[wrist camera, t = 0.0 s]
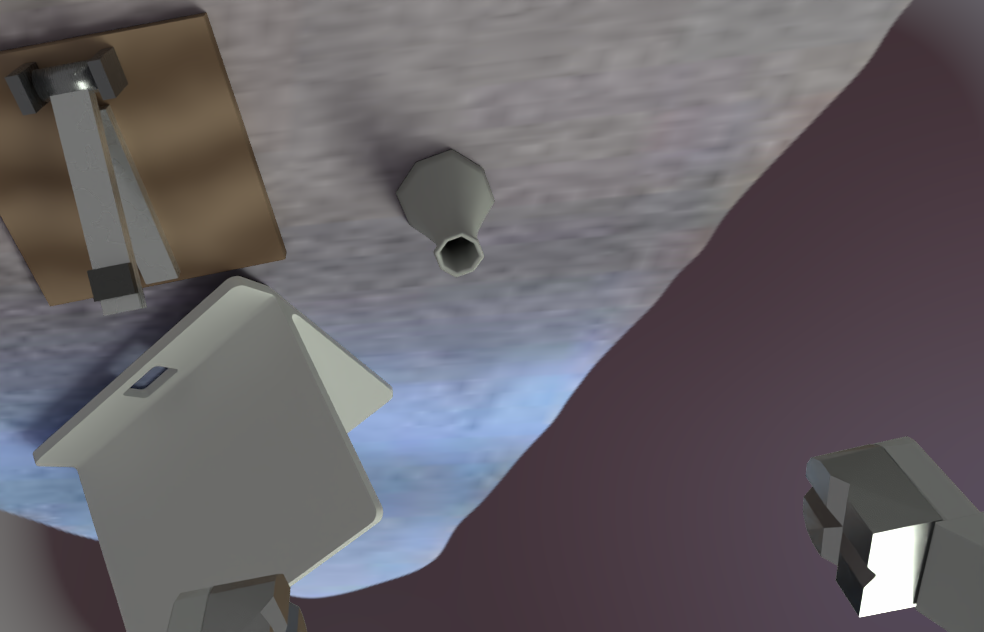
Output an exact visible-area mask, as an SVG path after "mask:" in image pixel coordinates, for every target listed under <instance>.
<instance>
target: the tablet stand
mask: <svg viewBox="0 0 984 632" xmlns="http://www.w3.org/2000/svg"><path fill="white" fill-rule="evenodd" d="M155 366H162V367H168V369H167V370H166V371H165V372H164V373H162V374H161V375H160V376H159V377H158V378H157V379H156V380H154V381H153V382H152V383H151V384H150V385H149V386H148V387H146V388H145V389H134V388H130V387H131V386H132V385H133V384H135V383H136V382H137V381H138V380H139V379H140V378H141V377H143V376H144V375H145V374H146V373H147V372H148V371H149V370H150V369H152V368H153V367H155ZM392 397H393V389H392V387H391V386H390V385H389V384H388V383H387V382H386V381H384V380H383V379H382V378H381V377H379V376H378V375H377V374H376V373H374V372H373V371H372V370H371V369H370V368H368V367H367V366H366V365H365V364H363V363H362V362H361V361H360V360H358V359H357V358H356V357H355V356H354V355H352V354H351V353H350V352H349V351H347V350H346V349H345V348H344V347H342V346H341V345H340V344H339V343H338V342H336V341H335V340H334V339H333V338H331V337H330V336H329V335H328V334H326V333H325V332H324V331H323V330H322V329H320V328H319V327H318V326H317V325H315V324H314V323H313V322H312V321H310V320H309V319H308V318H307V317H306V316H304V315H303V314H302V313H301V312H299V311H298V310H297V309H296V308H294V307H293V306H292V305H291V304H290V303H288V302H287V301H286V300H285V299H283V298H282V297H281V296H280V295H278V294H277V293H276V292H275V291H274V290H272V289H271V288H270V287H269V286H266V285H263V284H260V283H258V282H255V281H252V280H249V279H246V278H244V277H241V276H234V277H230V278H228V279H227V280H226V281H224V282H223V283H222V284H221V285H220V286H219V287H218V288H217V289H215V290H214V291H213V292H212V293H211V294H210V295H209V296H208V297H206V298H205V299H204V300H203V301H202V302H201V303H200V304H199V305H197V306H196V307H195V308H194V309H193V310H192V311H191V312H190V313H189V314H187V315H186V316H185V317H184V318H183V319H182V320H181V321H180V322H178V323H177V324H176V325H175V326H174V327H173V328H172V329H171V330H169V331H168V332H167V333H166V334H165V335H164V336H163V337H162V338H160V339H159V340H158V341H157V342H156V343H155V344H154V345H153V346H152V347H150V348H149V349H148V350H147V351H146V352H145V353H144V354H143V355H141V356H140V357H139V358H138V359H137V360H136V361H135V362H134V363H132V364H131V365H130V366H129V367H128V368H127V369H126V370H125V371H124V372H122V373H121V374H120V375H119V376H118V377H117V378H116V379H115V380H113V381H112V382H111V383H110V384H109V385H108V386H107V387H106V388H104V389H103V390H102V391H101V392H100V393H99V394H98V395H97V396H95V397H94V398H93V399H92V400H91V401H90V402H89V403H88V404H87V405H85V406H84V407H83V408H82V409H81V410H80V411H79V412H78V413H76V414H75V415H74V416H73V417H72V418H71V419H70V420H69V421H67V422H66V423H65V424H64V425H63V426H62V427H61V428H60V429H58V430H57V431H56V432H55V433H54V434H53V435H52V436H51V437H50V438H48V439H47V440H46V441H45V442H44V443H43V444H42V445H41V446H39V447H38V448H37V449H36V450H35V451H34V452H33V456H34V460H35V463H36V465H37V466H50V467H74V468H76V469H77V471H78V474H79V477H80V481H81V484H82V487H83V490H84V494H85V497H86V500H87V503H88V507H89V510H90V513H91V517H92V520H93V523H94V526H95V530H96V533H97V536H98V539H99V543H100V546H101V549H102V552H103V556H104V559H105V562H106V566H107V569H108V572H109V575H110V578H111V582H112V585H113V588H114V592H115V595H116V598H117V602H118V605H119V608H120V611H121V615H122V618H123V621H124V625H125V627H126V631H127V632H167V628H168V624H169V620H170V615H171V611H172V607H173V604H174V602H175V600H176V599H177V597H178V596H179V594H180V593H183V592H188V591H193V590H198V589H203V588H208V587H213V586H216V585H222V584H227V583H232V582H237V581H243V580H248V579H253V578H258V577H264V576H269V575H274V574H284V576H285V578H286V580H287V582H288V584H289V586H290V587H291V586H292V585H293V584H295V583H296V582H297V581H299V580H300V579H301V578H303V577H304V576H306V575H307V574H308V573H310V572H311V571H312V570H314V569H315V568H317V567H318V566H319V565H321V564H322V563H323V562H325V561H326V560H328V559H329V558H330V557H332V556H333V555H334V554H336V553H337V552H339V551H340V550H341V549H343V548H344V547H345V546H347V545H348V544H350V543H351V542H352V541H354V540H355V539H356V538H358V537H359V536H360V535H362V534H363V533H365V532H366V531H367V530H369V529H370V528H371V527H373V526H374V525H376V524H377V523H378V522H379V521H380V520H381V518H382V516H383V508H382V506H381V504H380V502H379V499H378V497H377V495H376V493H375V491H374V489H373V487H372V485H371V483H370V481H369V479H368V476H367V474H366V472H365V470H364V468H363V466H362V464H361V462H360V460H359V458H358V456H357V453H356V451H355V449H354V447H353V445H352V443H351V441H350V439H349V437H348V435H347V433H348V432H350V431H351V430H352V429H353V428H355V427H356V426H357V425H359V424H360V423H361V422H362V421H364V420H365V419H366V418H368V417H369V416H370V415H371V414H373V413H374V412H375V411H377V410H378V409H379V408H380V407H382V406H383V405H384V404H386V403H387V402H388V401H389V400H391V398H392Z"/></svg>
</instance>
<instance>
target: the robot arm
mask: <svg viewBox="0 0 984 632" xmlns="http://www.w3.org/2000/svg"><path fill="white" fill-rule="evenodd" d="M806 477H807V479H808V480H809V482H810V483H811V485H812V488H811V489H810V490H809V491H808V492H807V494H806V495H805V496H804V502H803V515H804V519H805V524H806V528H807V531H808V534H809V536H810V538H811V540H812V543H813V544H814V546H815V548H816V549H817V551H818V553H819V554H820V556H821V557H823V558H825V559H826V560H828V561H830V562H832V563H833V564H835V565H837V566H838V567H837V575H836V581H837V583H838V585H839V586H840V588H841V589H842V591H843V592H844V594H845V596H846V597H847V599H848V600H849V602H850V603H851V605H852V607H853V608H854V610H855V611H856V613H857V614H858V616H859V617H863V616H867V615H873V614H878V613H883V612H888V611H893V610H898V609H903V608H909V607H914V606H916V608H915V609H916V610H917V611H919V612H920V613H922V614H923V615H924V616H926V617H928V618H929V619H931V620H932V621H933V622H935V623H936V624H938V625H939V626H941V627H942V628H944V629H945V630H947V631H948V632H984V512H980V511H979V510H978V509H977V508H976V507H975V506H974V505H973V504H972V503H971V502H970V501H969V500H968V498H967V497H966V496H965V495H964V494H963V493H962V492H961V491H960V490H959V489H958V487H957V486H956V485H955V484H954V483H953V482H952V481H951V480H950V479H949V478H948V476H947V475H945V473H944V472H943V471H942V470H941V469H940V468H939V467H938V465H937V464H936V463H935V462H934V461H933V460H932V459H931V458H930V457H929V456H928V455H927V454H926V452H925V451H924V450H923V449H922V448H921V447H920V446H919V445H918V444H917V443H916V441H915V440H913V439H911V438H909V437H907V436H906V437H902V438H897V439H893V440H888V441H884V442H879V443H875V444H869V445H864V446H860V447H855V448H851V449H847V450H842V451H838V452H834V453H829V454H825V455H821V456H816V457H812V458H811V459H810V461H809V462H808V463H807V470H806ZM289 599H290V586H289V584H288V582H287V580H286V578H285V576H284V574H274V575H269V576H264V577H258V578H253V579H248V580H243V581H237V582H232V583H227V584H222V585H216V586H213V587H208V588H203V589H198V590H193V591H188V592H183V593H180V594H179V596H178V597H177V599H176V600H175V602H174V604H173V607H172V611H171V615H170V620H169V624H168V628H167V632H307V629H306V625H305V621H304V617H303V615H302V613H301V610H300V608H299V607H298V606H296V605H294V604H292V603H290V602H289Z"/></svg>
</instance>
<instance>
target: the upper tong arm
mask: <svg viewBox="0 0 984 632" xmlns="http://www.w3.org/2000/svg"><path fill="white" fill-rule="evenodd" d="M88 60H89V59H88ZM88 60H83V61H78V62H73V63H67V64H62V65H57V66H51V67H46V68H41V69H36V70H33V72H32V82H33V86H34V88H35V91H36V93H37V94H38V96H39V97H40V98H41V99H42V100H43V101H44V102H49V101H51V103H52V107H53V111H54V115H55V119H56V124H57V128H58V132H59V136H60V140H61V144H62V148H63V152H64V156H65V160H66V164H67V168H68V172H69V176H70V180H71V184H72V188H73V192H74V197H75V201H76V205H77V209H78V213H79V217H80V221H81V225H82V229H83V233H84V237H85V241H86V245H87V249H88V253H89V257H90V261H91V265H92V270H88V271H87V274H88V278H89V282H90V286H91V290H92V294H93V298H94V302H96V301H100V302H101V306H102V310H103V314H104V316H107V315H112V314H117V313H122V312H127V311H132V310H137V309H142V308H147V305H146V301H145V297H144V293H143V289H142V285H141V281H140V276H139V272H138V268H137V264H136V260H135V256H134V252H133V247H132V243H131V239H130V235H129V231H128V227H127V223H126V218H125V214H124V210H123V206H122V202H121V198H120V194H119V189H118V185H117V181H116V177H115V173H114V169H113V165H112V160H111V156H110V152H109V148H108V144H107V140H106V135H105V131H104V127H103V123H102V119H101V115H100V111H99V106H98V102H97V98H96V94H95V93H96V92H99V89H98V87H97V85H96V82H95V80H94V78H93V76H92V73H91V71H90V69H89V66H88V64H87V61H88Z"/></svg>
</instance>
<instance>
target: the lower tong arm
mask: <svg viewBox="0 0 984 632" xmlns="http://www.w3.org/2000/svg"><path fill="white" fill-rule="evenodd" d="M87 64H88V66H89V69H90V71H91V73H92V76H93V78H94V80H95V82H96V85H97V87H98V89H99V92H100V94H101V96H102V99H103V100H108V99H113V98H116V97H117V96H118V95H119V94H120V93H121V92H122V90H123V89H124V88H125V87H126V86H127V85H128V81H127V79H126V76H125V74H124V71H123V69H122V66H121V64H120V61H119V59H118V57H117V54H116V52H115V49H114V47H110V48H105V49H101V50H100V51H99V52H97V53H96V54H95V55H94V56H93V57H92V58H91V59H89V60H88V61H87ZM36 69H39V67H38V65H37V63H36V62H31V63H25V64H22V65H21V66H20V67H18V68H17V69H16V70H14V71H13V72H11V73H10V74H9V75H7V76H6V77H4V78H5V80H6V82H7V84H8V86H9V88H10V90H11V92H12V94H13V96H14V98H15V100H16V102H17V104H18V106H19V108H20V110H21V112H22V114H23V116H24V115H29V114H35V113H37V112H38V111H39V110H40V109H41V108H42V107H43V106H45V105H46V104H47V103H48V102H44V101H43V100H42V99H41V98H40V97H39V96H38V94H37V93H36V91H35V88H34V86H33V82H32V72H33V70H36ZM99 111H100V115H101V119H102V123H103V127H104V131H105V135H106V140H107V144H108V148H109V152H110V156H111V160H112V165H113V169H114V173H115V177H116V181H117V185H118V189H119V194H120V198H121V202H122V206H123V210H124V214H125V218H126V223H127V227H128V231H129V235H130V239H131V243H132V247H133V252H134V256H135V260H136V263H137V266H138V268H139V270H140V272H141V274H142V277H143V279H144V281H145V283H146V284H151V283H156V282H161V281H166V280H171V279H176V278H178V277H179V275H180V272H181V271H180V269H179V266H178V264H177V262H176V259H175V257H174V255H173V252H172V250H171V248H170V245H169V243H168V241H167V238H166V236H165V233H164V231H163V229H162V226H161V224H160V222H159V219H158V217H157V215H156V212H155V210H154V208H153V205H152V203H151V201H150V198H149V196H148V194H147V191H146V189H145V186H144V184H143V182H142V179H141V177H140V175H139V172H138V170H137V168H136V165H135V163H134V161H133V158H132V156H131V154H130V151H129V149H128V147H127V144H126V142H125V139H124V137H123V135H122V132H121V130H120V128H119V125H118V123H117V121H116V118H115V116H114V114H113V111H112V109H111V107H110V105H106V106H101V107H99Z"/></svg>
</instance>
